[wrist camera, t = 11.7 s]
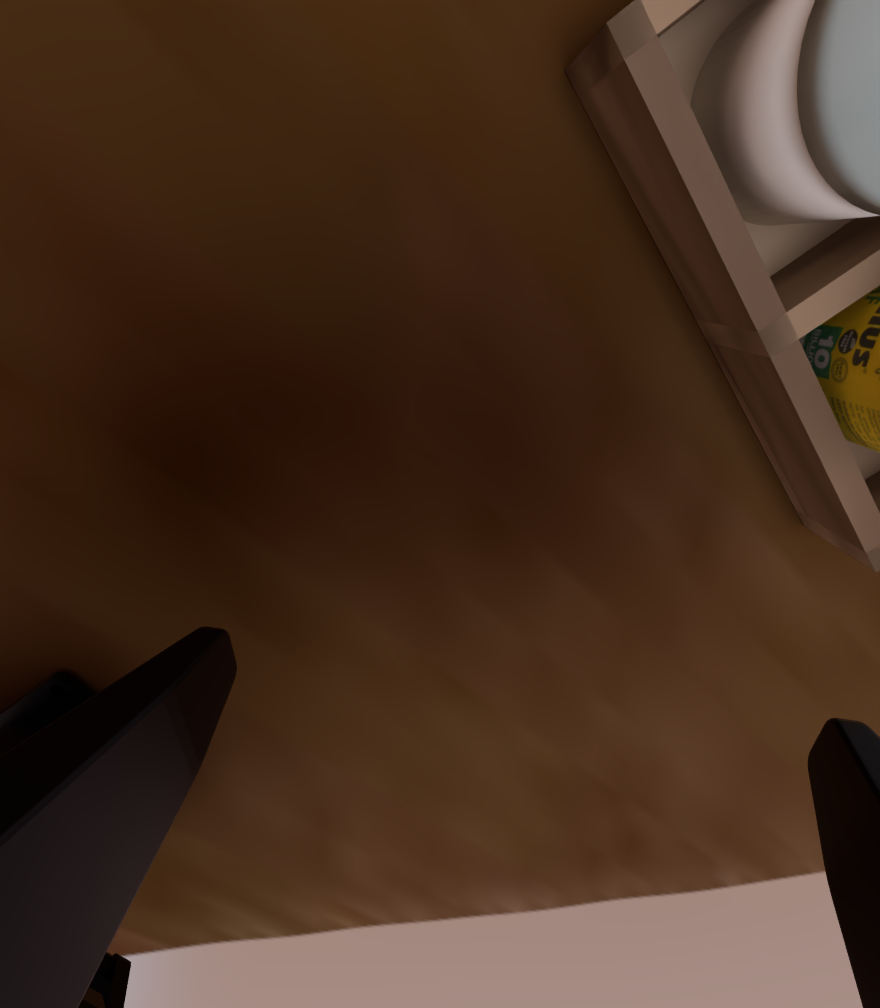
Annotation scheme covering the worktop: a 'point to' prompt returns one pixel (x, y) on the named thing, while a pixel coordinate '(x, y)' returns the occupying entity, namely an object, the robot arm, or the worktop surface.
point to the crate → (737, 258)
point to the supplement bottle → (850, 367)
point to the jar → (796, 110)
